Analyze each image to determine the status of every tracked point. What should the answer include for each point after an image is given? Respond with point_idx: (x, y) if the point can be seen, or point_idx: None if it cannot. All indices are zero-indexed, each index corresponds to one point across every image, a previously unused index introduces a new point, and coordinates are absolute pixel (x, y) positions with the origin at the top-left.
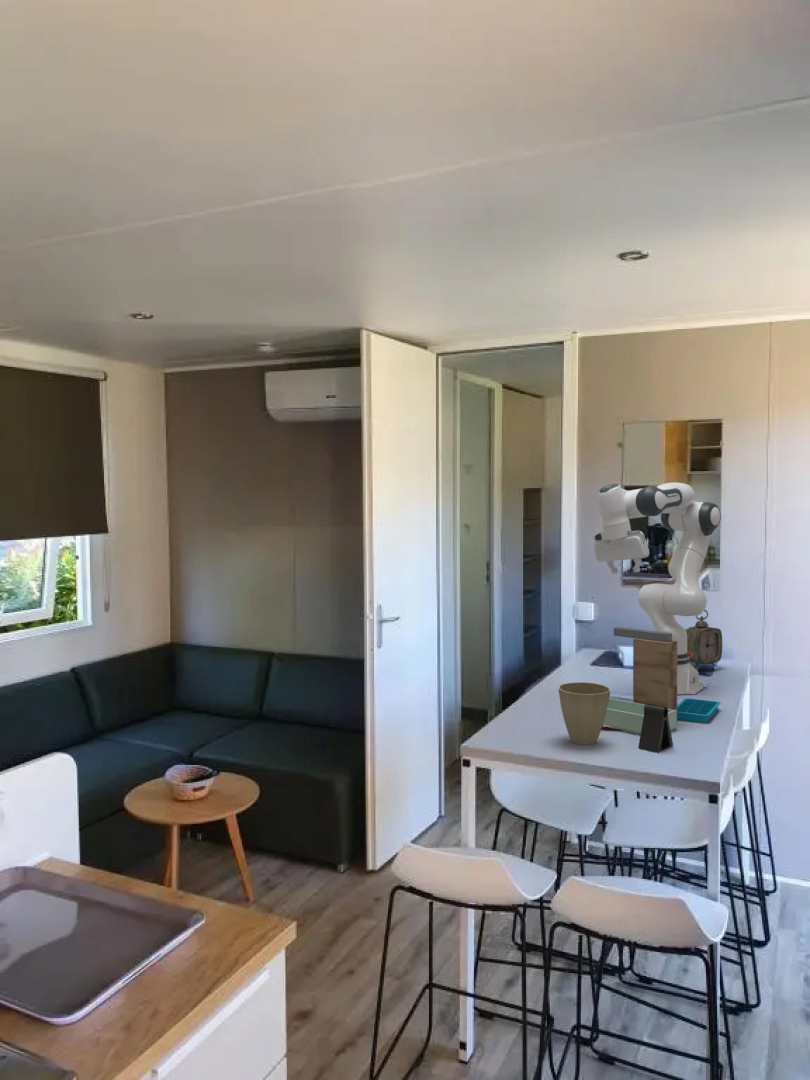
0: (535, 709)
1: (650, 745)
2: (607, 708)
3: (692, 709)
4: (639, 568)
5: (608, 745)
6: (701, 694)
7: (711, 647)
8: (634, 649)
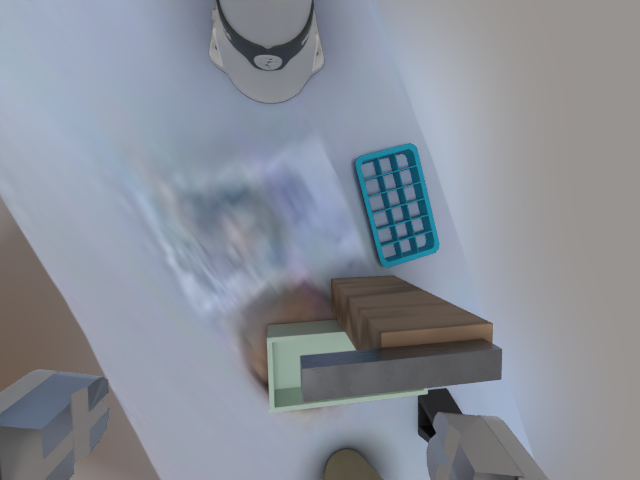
0: (160, 385)
1: None
2: (335, 402)
3: (399, 223)
4: (517, 448)
5: (380, 453)
6: (330, 52)
7: None
8: None
